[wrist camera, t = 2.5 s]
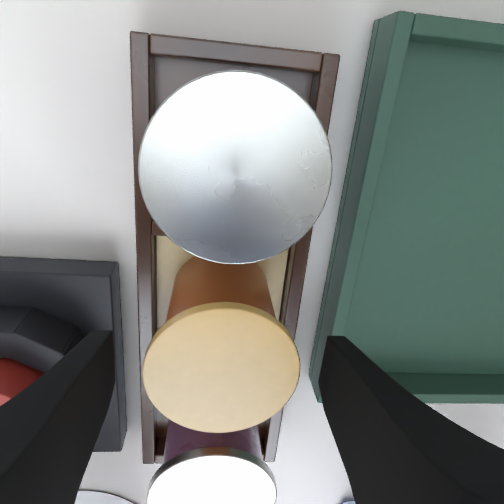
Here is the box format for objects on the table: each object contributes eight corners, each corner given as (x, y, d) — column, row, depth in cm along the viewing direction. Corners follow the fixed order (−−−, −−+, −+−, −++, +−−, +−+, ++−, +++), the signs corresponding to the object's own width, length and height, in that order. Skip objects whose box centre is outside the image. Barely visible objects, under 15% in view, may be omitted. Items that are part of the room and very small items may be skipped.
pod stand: (329, 57, 14) (340, 54, 13) (271, 438, 22) (275, 462, 20) (138, 36, 13) (129, 30, 12) (147, 439, 21) (142, 464, 20)
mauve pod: (266, 358, 19) (284, 454, 14) (257, 432, 21) (269, 538, 16) (164, 356, 18) (145, 456, 14) (164, 432, 20) (147, 543, 15)
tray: (688, 59, 15) (752, 55, 14) (535, 377, 22) (564, 404, 20) (374, 20, 14) (398, 10, 12) (307, 374, 20) (317, 403, 18)
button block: (-82, 252, 16) (-150, 290, 13) (118, 261, 17) (97, 298, 14) (-33, 430, 20) (-76, 490, 17) (127, 429, 21) (112, 486, 18)
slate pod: (302, 82, 14) (348, 81, 9) (285, 212, 16) (316, 268, 11) (164, 68, 14) (134, 59, 9) (164, 205, 15) (140, 261, 11)
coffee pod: (282, 242, 16) (311, 311, 11) (270, 339, 18) (289, 433, 13) (163, 236, 16) (139, 305, 11) (163, 337, 18) (143, 434, 13)
